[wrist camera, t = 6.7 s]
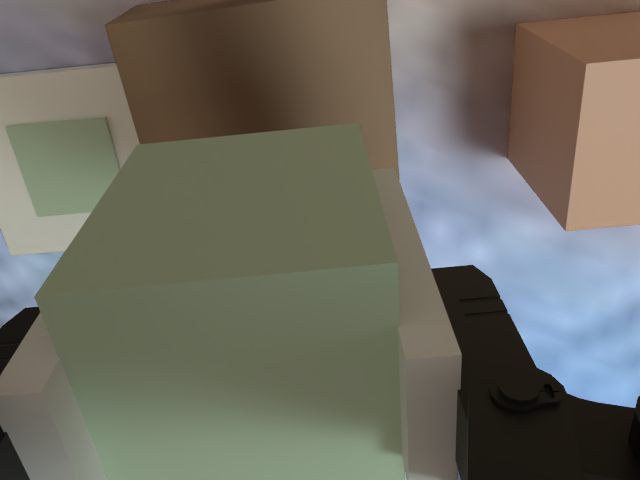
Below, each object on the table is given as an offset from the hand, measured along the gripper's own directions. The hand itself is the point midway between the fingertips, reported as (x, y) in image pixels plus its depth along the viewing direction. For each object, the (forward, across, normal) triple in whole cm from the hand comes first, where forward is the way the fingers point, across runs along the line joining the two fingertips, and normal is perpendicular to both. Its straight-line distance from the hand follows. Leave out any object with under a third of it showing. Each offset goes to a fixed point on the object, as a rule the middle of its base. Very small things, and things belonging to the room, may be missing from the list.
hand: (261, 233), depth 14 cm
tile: (+9, -8, -1) cm, 12 cm away
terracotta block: (+9, +11, 0) cm, 14 cm away
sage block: (0, 0, 0) cm, 0 cm away
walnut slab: (+9, 0, 0) cm, 9 cm away
